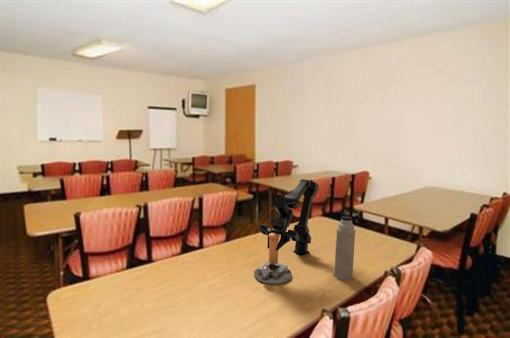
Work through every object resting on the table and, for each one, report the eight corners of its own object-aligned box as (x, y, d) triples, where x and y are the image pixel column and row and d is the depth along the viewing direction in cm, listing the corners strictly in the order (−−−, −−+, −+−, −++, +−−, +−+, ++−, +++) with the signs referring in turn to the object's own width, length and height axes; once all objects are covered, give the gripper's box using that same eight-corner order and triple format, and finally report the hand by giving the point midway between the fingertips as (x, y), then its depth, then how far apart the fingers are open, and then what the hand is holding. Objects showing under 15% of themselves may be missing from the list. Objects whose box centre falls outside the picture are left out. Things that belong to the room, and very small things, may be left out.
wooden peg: (277, 259, 148) (278, 232, 146) (279, 264, 143) (280, 236, 141) (267, 260, 147) (267, 233, 145) (269, 264, 142) (269, 236, 141)
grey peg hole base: (265, 264, 158) (266, 251, 157) (297, 273, 149) (298, 259, 148) (247, 277, 143) (247, 264, 142) (280, 288, 134) (281, 273, 134)
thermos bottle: (335, 271, 151) (338, 213, 147) (352, 274, 149) (356, 215, 145) (333, 278, 144) (336, 218, 140) (351, 282, 141) (355, 220, 137)
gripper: (261, 207, 150) (248, 236, 142) (297, 213, 140) (285, 245, 133) (268, 219, 158) (256, 248, 150) (304, 226, 148) (293, 257, 140)
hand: (272, 249), depth 143 cm, fingers closed on wooden peg, 4 cm apart
